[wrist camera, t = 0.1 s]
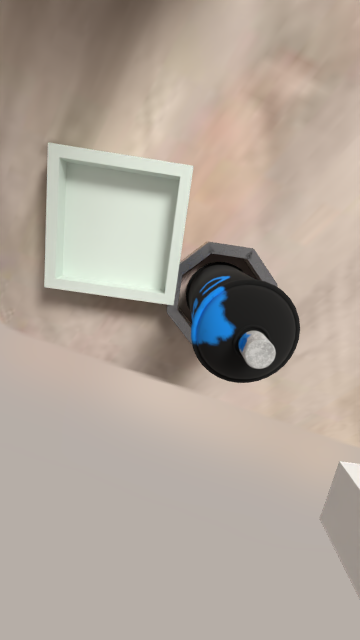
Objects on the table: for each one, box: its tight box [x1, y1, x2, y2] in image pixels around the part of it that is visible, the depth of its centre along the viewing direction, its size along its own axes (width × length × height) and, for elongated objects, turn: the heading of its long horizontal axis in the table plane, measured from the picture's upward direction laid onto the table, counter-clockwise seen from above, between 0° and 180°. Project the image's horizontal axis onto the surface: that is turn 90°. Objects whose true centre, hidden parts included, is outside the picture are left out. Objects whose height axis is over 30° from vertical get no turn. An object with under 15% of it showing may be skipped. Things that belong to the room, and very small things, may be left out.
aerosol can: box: [186, 262, 300, 383], centre depth 28 cm, size 8×8×20 cm
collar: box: [167, 242, 278, 344], centre depth 36 cm, size 12×12×2 cm
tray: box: [44, 142, 193, 305], centre depth 34 cm, size 15×15×3 cm
